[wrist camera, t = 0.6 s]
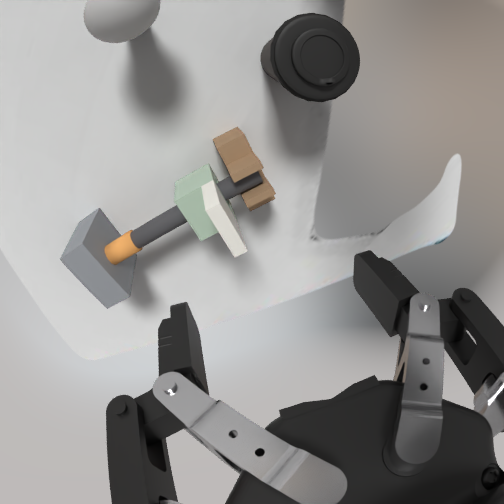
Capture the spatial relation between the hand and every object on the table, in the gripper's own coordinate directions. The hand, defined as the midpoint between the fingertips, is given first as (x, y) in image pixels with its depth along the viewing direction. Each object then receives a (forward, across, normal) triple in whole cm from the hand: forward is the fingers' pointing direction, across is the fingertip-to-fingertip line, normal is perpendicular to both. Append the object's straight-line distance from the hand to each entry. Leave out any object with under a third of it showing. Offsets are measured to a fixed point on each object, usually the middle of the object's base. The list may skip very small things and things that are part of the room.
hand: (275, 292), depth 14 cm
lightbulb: (+23, +5, -18) cm, 29 cm away
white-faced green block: (+21, +2, +2) cm, 21 cm away
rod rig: (+23, +6, +3) cm, 24 cm away
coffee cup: (+23, -10, -10) cm, 27 cm away
